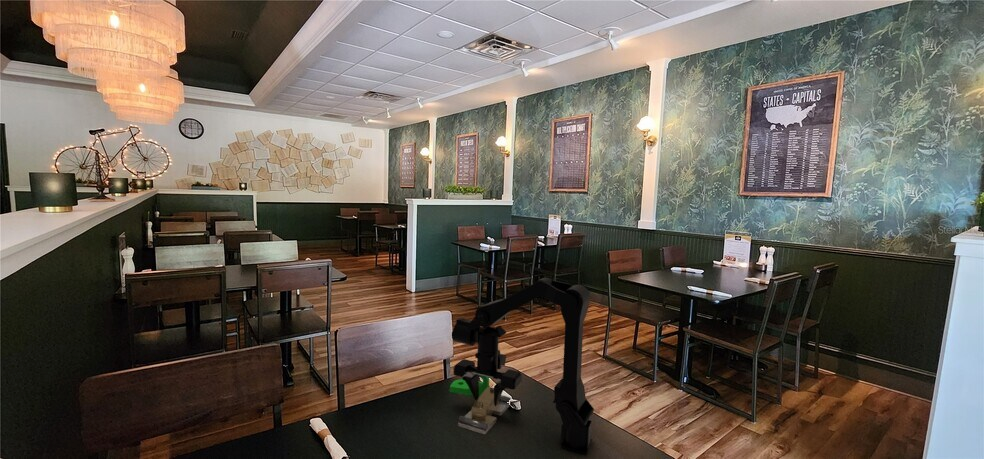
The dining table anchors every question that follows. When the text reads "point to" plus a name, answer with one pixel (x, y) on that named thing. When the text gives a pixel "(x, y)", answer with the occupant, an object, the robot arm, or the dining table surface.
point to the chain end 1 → (476, 423)
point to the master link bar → (484, 406)
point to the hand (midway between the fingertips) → (486, 402)
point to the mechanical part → (463, 388)
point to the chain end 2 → (502, 405)
